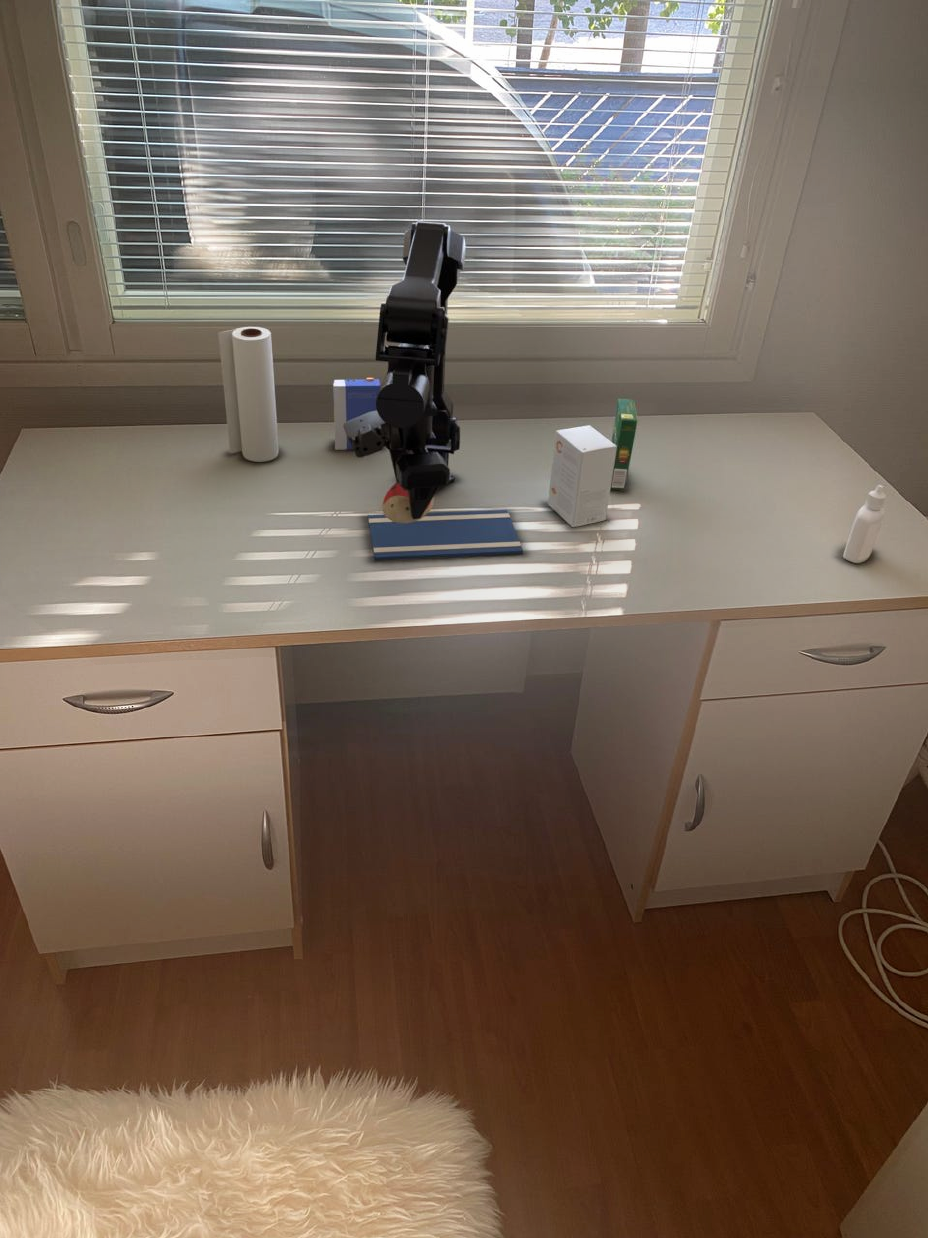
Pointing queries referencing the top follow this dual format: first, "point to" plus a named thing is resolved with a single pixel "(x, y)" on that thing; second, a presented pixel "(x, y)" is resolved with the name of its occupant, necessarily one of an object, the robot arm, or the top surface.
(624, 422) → the coffee box
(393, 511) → the ladybug figurine
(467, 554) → the towel
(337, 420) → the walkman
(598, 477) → the small box
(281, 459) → the top surface
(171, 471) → the top surface
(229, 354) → the paper towel roll
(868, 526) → the eye dropper bottle
